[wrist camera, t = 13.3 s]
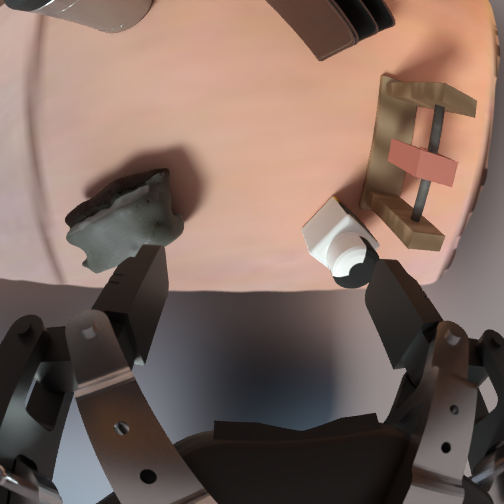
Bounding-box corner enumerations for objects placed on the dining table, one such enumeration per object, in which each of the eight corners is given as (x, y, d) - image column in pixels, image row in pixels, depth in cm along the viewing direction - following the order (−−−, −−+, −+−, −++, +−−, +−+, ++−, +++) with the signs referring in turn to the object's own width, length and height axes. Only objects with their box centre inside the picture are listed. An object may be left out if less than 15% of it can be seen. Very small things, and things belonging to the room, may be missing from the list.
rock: (166, 151, 34) (146, 164, 27) (201, 219, 40) (190, 247, 33) (76, 203, 38) (50, 224, 31) (110, 257, 43) (90, 285, 36)
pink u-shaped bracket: (391, 138, 28) (421, 149, 22) (426, 148, 28) (457, 162, 22) (387, 160, 30) (415, 177, 24) (421, 169, 30) (451, 187, 24)
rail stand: (380, 75, 28) (441, 72, 16) (415, 88, 28) (480, 94, 16) (359, 206, 38) (401, 256, 26) (392, 211, 39) (439, 258, 27)
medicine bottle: (363, 223, 40) (396, 266, 30) (331, 254, 43) (354, 304, 32) (332, 194, 37) (362, 232, 27) (300, 229, 40) (316, 277, 30)
